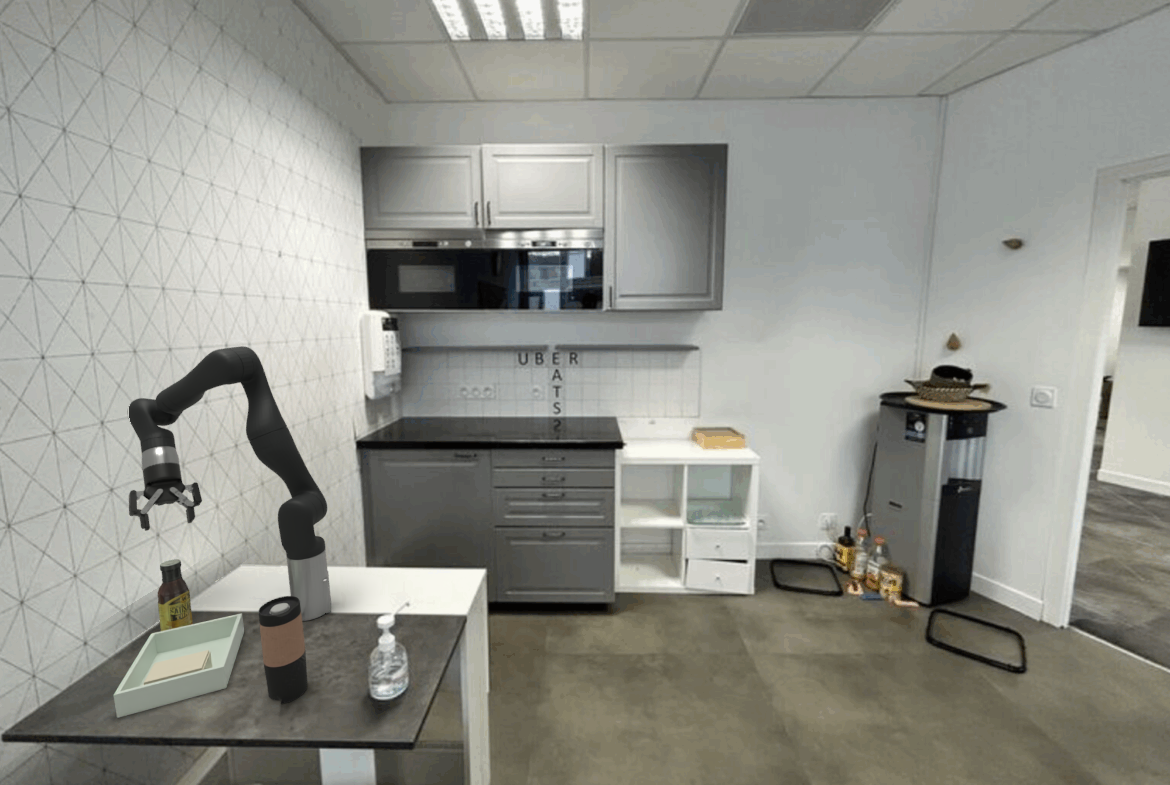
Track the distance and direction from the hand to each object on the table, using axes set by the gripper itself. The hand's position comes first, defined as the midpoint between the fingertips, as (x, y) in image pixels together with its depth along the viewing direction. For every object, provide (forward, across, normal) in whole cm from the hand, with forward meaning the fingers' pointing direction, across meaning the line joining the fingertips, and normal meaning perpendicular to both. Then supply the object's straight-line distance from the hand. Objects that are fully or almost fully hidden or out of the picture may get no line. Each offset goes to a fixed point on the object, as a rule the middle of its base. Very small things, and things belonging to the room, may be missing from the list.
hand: (169, 525), depth 126 cm
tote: (+36, -1, -4) cm, 37 cm away
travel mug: (+49, +11, -25) cm, 56 cm away
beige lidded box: (+39, -4, -9) cm, 40 cm away
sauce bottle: (+26, +1, +12) cm, 28 cm away
